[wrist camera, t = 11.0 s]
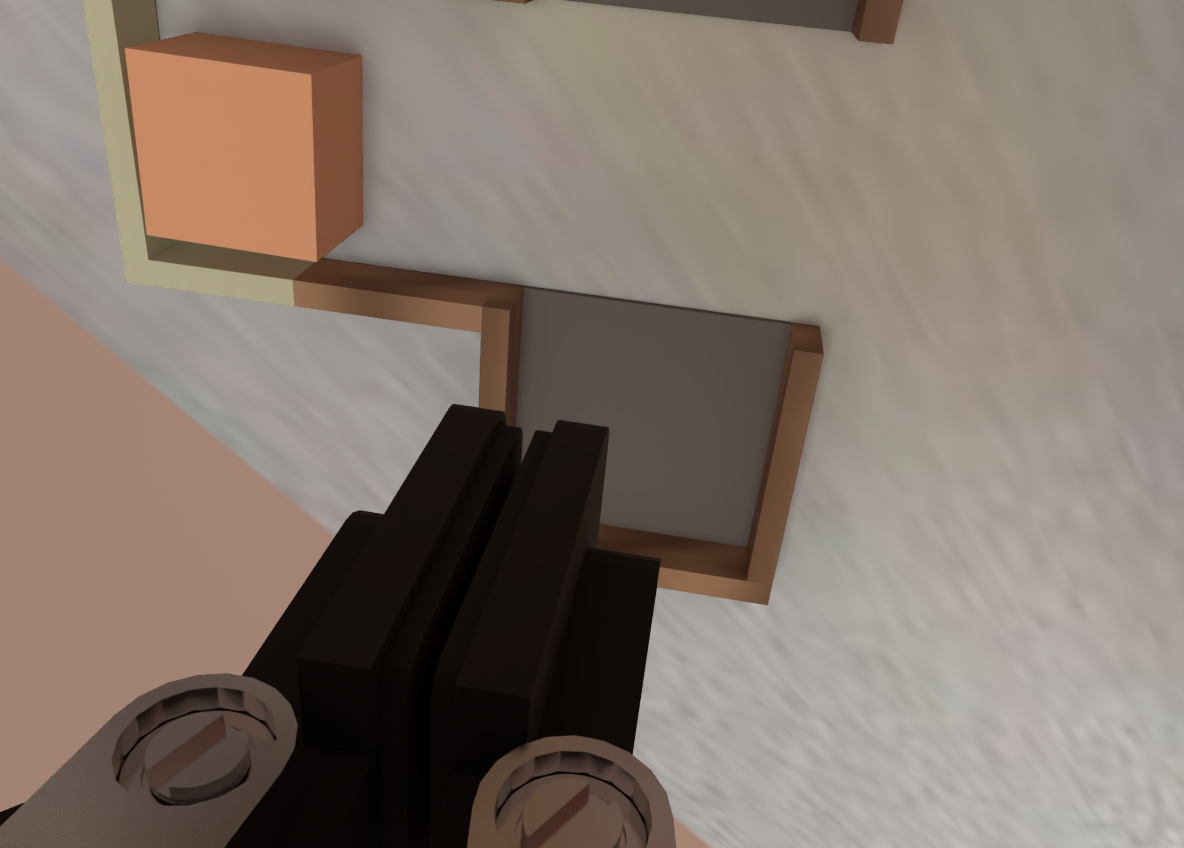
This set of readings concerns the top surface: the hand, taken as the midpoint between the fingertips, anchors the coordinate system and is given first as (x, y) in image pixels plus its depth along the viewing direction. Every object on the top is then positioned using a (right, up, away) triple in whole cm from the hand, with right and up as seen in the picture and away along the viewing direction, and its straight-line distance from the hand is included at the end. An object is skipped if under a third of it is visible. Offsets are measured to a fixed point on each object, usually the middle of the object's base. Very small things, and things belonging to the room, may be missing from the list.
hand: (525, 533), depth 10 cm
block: (-10, +12, +24) cm, 29 cm away
